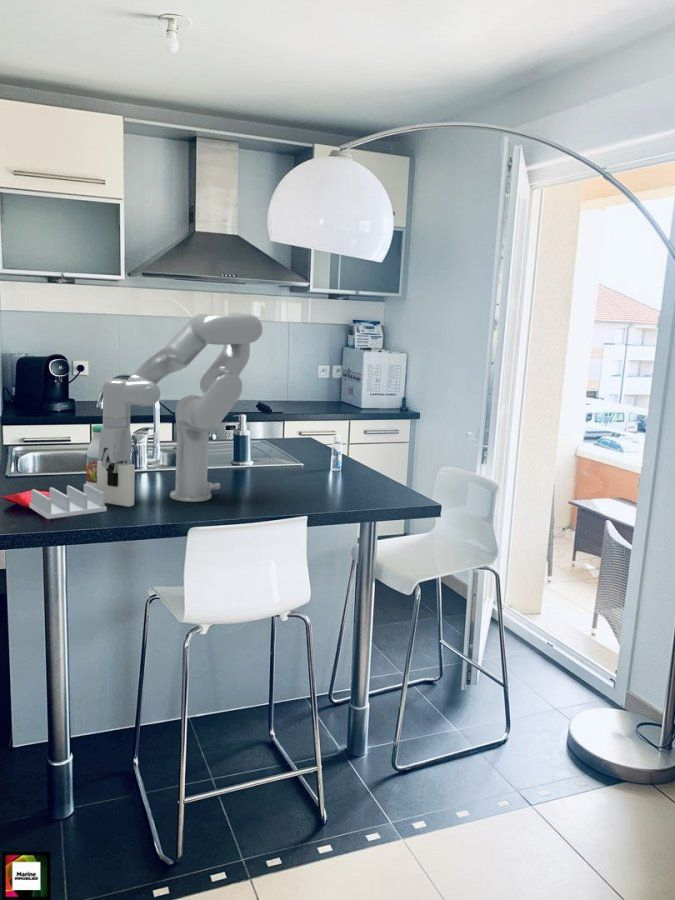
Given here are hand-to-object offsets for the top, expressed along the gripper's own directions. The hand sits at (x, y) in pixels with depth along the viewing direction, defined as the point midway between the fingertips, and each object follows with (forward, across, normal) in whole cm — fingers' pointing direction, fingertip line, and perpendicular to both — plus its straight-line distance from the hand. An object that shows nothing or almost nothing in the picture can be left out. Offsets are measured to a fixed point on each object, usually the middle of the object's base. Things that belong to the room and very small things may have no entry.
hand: (115, 484), depth 217 cm
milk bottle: (+6, -11, -13) cm, 18 cm away
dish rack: (+6, +12, -7) cm, 15 cm away
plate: (+6, 0, 0) cm, 6 cm away
